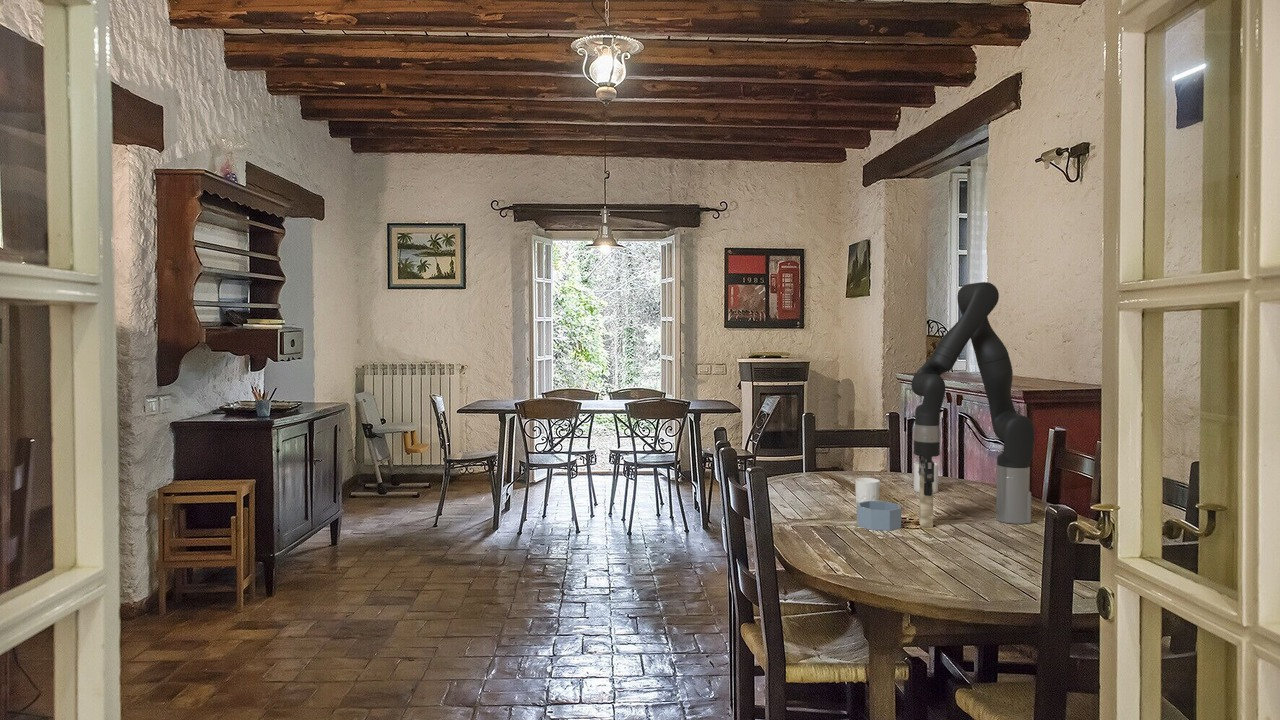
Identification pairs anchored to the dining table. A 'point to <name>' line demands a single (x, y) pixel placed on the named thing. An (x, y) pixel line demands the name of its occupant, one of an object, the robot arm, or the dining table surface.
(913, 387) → the robot arm
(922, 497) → the tan square peg
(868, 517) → the blue octagonal holder
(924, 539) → the dining table surface
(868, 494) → the white cup
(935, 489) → the mug
